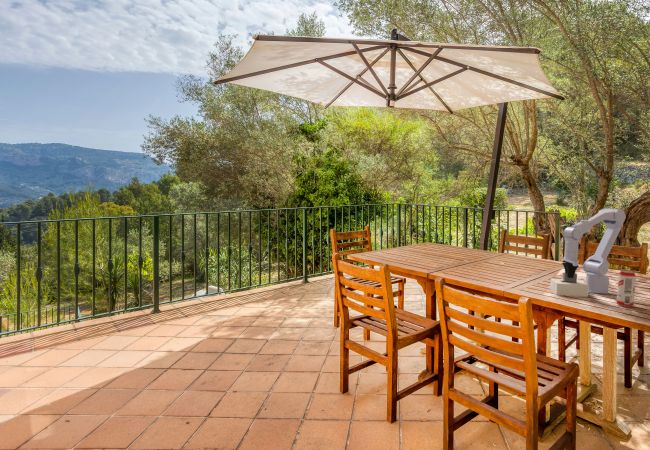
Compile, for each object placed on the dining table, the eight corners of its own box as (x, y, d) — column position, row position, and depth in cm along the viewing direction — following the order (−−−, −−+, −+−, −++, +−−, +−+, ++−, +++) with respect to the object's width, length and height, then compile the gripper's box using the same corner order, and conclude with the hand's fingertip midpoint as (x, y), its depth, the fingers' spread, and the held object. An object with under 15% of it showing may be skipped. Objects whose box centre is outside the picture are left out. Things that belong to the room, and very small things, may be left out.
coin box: (579, 291, 202) (580, 280, 201) (587, 296, 192) (588, 285, 191) (550, 289, 205) (550, 278, 204) (556, 295, 195) (557, 283, 195)
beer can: (618, 306, 177) (621, 272, 175) (614, 302, 183) (617, 269, 181) (635, 308, 175) (638, 273, 173) (630, 304, 181) (633, 270, 179)
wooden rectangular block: (574, 282, 198) (575, 273, 198) (576, 283, 196) (577, 274, 196) (562, 282, 200) (563, 272, 199) (564, 283, 197) (565, 273, 197)
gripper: (557, 248, 204) (555, 273, 206) (567, 253, 190) (565, 280, 192) (572, 248, 202) (570, 274, 204) (583, 253, 188) (581, 280, 190)
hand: (569, 277), depth 198 cm, fingers closed on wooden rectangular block, 2 cm apart
